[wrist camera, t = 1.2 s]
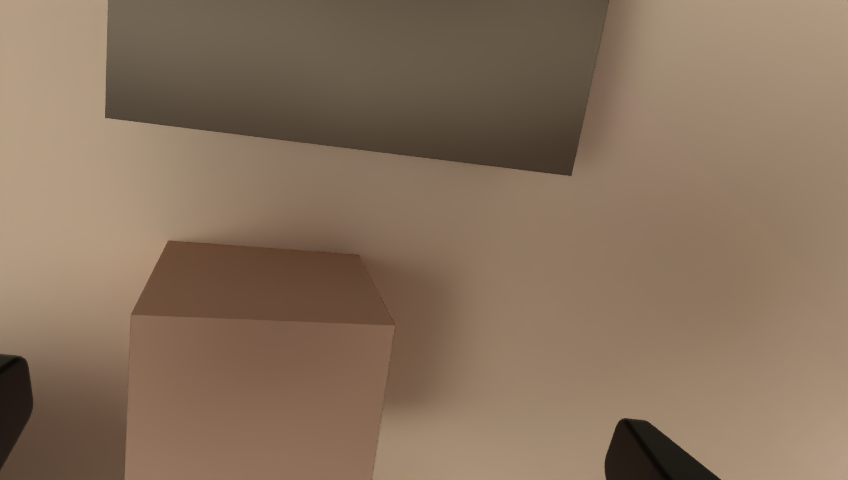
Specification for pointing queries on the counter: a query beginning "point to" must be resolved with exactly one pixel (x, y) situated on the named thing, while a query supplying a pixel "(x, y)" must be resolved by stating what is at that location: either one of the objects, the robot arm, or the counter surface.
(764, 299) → the counter surface
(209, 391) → the brown cube
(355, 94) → the walnut base
